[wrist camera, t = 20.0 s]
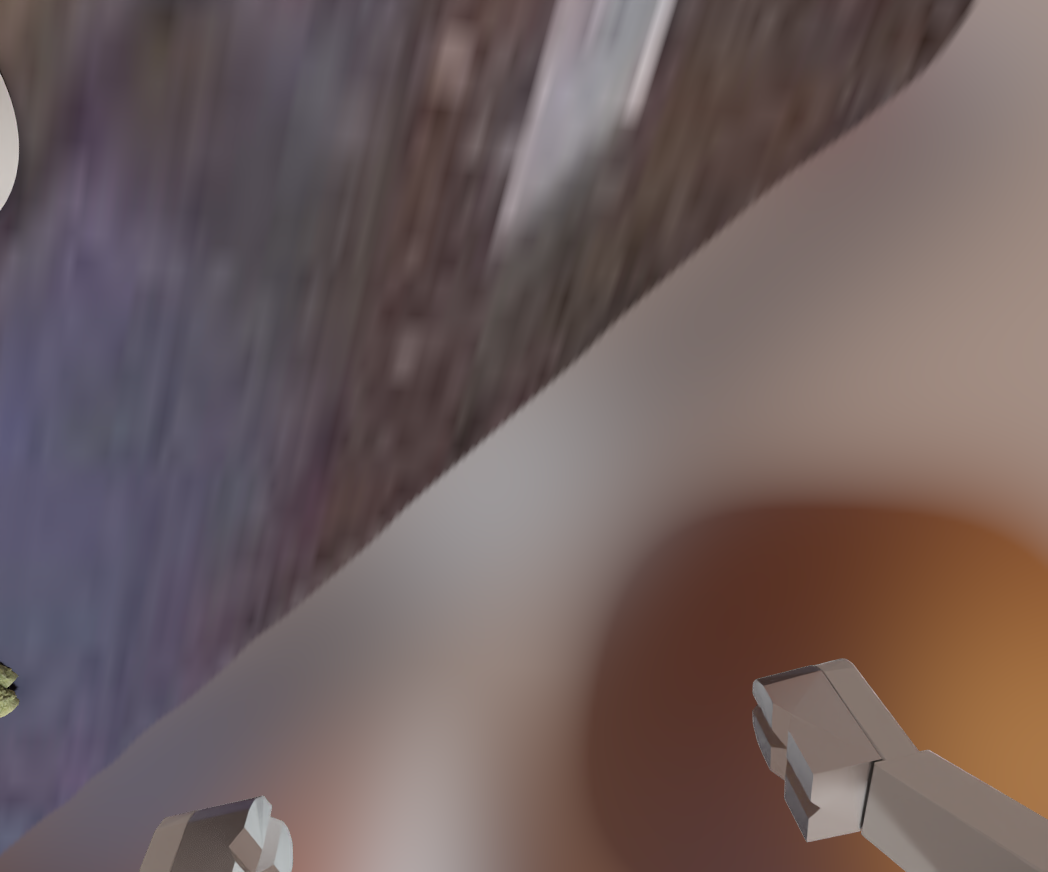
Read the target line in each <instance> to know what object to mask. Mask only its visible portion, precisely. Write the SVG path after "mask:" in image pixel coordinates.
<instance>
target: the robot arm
mask: <svg viewBox="0 0 1048 872" xmlns="http://www.w3.org/2000/svg"><path fill="white" fill-rule="evenodd" d="M18 159H19V139H18V129H17V123H16V118H15V113H14V109H13V106H12V102H11V99H10V96H9V93H8V90H7V88H6V85H5V83H4V80H3V78H2V76H1V74H0V210H1V208H2V207H3V206H4V204H5V202H6V201H7V199H8V197H9V195H10V192H11V190H12V187H13V184H14V181H15V177H16V173H17V167H18ZM753 695H754V697H755V699H756V701H757V703H758V705H757V706H756V707H755V708H754V710H753V726H754V730H755V734H756V738H757V741H758V744H759V746H760V749H761V751H762V754H763V756H764V758H765V760H766V762H767V764H768V766H769V769H770V770H771V771H772V772H774V773H775V774H776V775H778V776H779V777H781V778H782V779H784V780H785V795H784V799H785V801H786V802H787V804H788V806H789V808H790V810H791V812H792V814H793V816H794V818H795V820H796V822H797V824H798V826H799V828H800V830H801V832H802V834H803V836H804V838H805V840H806V842H810V841H815V840H820V839H824V838H829V837H834V836H839V835H844V834H848V833H853V832H858V831H862V832H861V834H862V835H863V836H864V837H865V838H866V839H868V840H869V841H870V842H871V843H873V844H874V845H875V846H876V847H877V848H878V849H880V850H881V851H882V852H883V853H884V854H886V855H887V856H888V857H889V858H890V859H892V860H893V861H894V862H895V863H896V864H898V865H899V866H900V867H901V868H902V869H903V870H905V871H906V872H1048V820H1047V819H1046V818H1044V817H1042V816H1040V815H1039V814H1037V813H1035V812H1034V811H1032V810H1030V809H1029V808H1027V807H1025V806H1024V805H1022V804H1020V803H1018V802H1017V801H1015V800H1013V799H1012V798H1010V797H1008V796H1007V795H1005V794H1003V793H1001V792H1000V791H998V790H996V789H995V788H993V787H991V786H990V785H988V784H986V783H984V782H983V781H981V780H979V779H978V778H976V777H974V776H972V775H971V774H969V773H967V772H966V771H964V770H962V769H961V768H959V767H957V766H956V765H954V764H952V763H950V762H949V761H947V760H945V759H944V758H942V757H940V756H938V755H937V754H935V753H933V752H932V751H930V750H925V751H918V750H917V748H916V747H915V745H914V744H913V743H912V742H911V740H910V739H909V737H908V736H907V735H906V733H905V732H904V731H903V730H902V728H901V727H900V725H899V724H898V723H897V722H896V720H895V719H894V717H893V716H892V715H891V713H890V712H889V711H888V710H887V708H886V707H885V706H884V704H883V703H882V702H881V700H880V699H879V698H878V696H877V695H876V694H875V692H874V691H873V690H872V688H871V687H870V686H869V684H868V683H867V682H866V680H865V679H864V678H863V676H862V675H861V674H860V672H859V671H858V670H857V668H856V667H855V666H854V664H852V663H851V662H849V661H848V660H847V659H838V660H834V661H830V662H826V663H822V664H818V665H814V666H813V665H811V666H806V667H802V668H798V669H795V670H791V671H787V672H783V673H779V674H775V675H771V676H767V677H763V678H760V679H756V680H755V681H754V683H753ZM271 810H272V805H271V804H270V803H269V802H268V801H267V799H266V798H265V797H264V796H259V797H255V798H251V799H246V800H242V801H238V802H233V803H229V804H225V805H220V806H216V807H211V808H207V809H202V810H195V811H191V812H187V813H183V814H179V815H175V816H170V817H166V818H164V820H163V821H162V822H161V824H160V825H159V826H158V828H157V829H156V830H155V832H154V835H153V837H152V840H151V842H150V845H149V847H148V850H147V852H146V855H145V858H144V860H143V862H142V865H141V868H140V870H139V872H292V866H293V844H292V839H291V836H290V833H289V829H288V828H287V826H286V825H285V824H284V822H283V821H281V820H278V819H275V818H273V817H270V813H271Z"/></svg>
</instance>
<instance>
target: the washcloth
mask: <svg viewBox="0 0 1048 872" xmlns="http://www.w3.org/2000/svg"><path fill="white" fill-rule="evenodd" d="M11 670H12V669H11V668H7V667H6V666H3V665H2V664H0V717H3V716H5V715H7V714H8V713H10V712H12V711H13V710H14V709H15V708H16V707H17V705H18V704H19V699H17V698H16V695H15V692H14V691H12V690H10V689H7V688H8V687H9V686H10V685H11V684H12V683H13V682H14V681H15V680H16V678H17V677H18V675H17V674H16V673H14V672H13V671H11Z"/></svg>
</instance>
